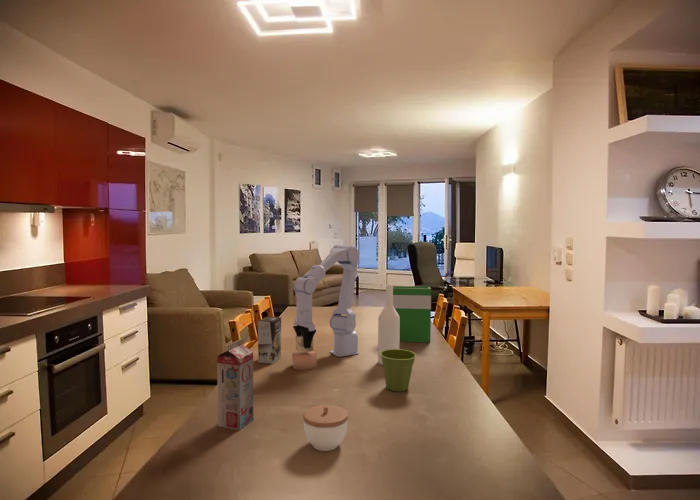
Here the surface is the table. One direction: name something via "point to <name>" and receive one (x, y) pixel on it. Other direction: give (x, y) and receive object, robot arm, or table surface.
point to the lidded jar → (325, 426)
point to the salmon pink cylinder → (304, 360)
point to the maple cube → (302, 345)
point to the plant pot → (397, 368)
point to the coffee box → (269, 339)
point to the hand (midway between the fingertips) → (304, 346)
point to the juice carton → (235, 386)
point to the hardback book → (413, 312)
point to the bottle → (388, 325)
